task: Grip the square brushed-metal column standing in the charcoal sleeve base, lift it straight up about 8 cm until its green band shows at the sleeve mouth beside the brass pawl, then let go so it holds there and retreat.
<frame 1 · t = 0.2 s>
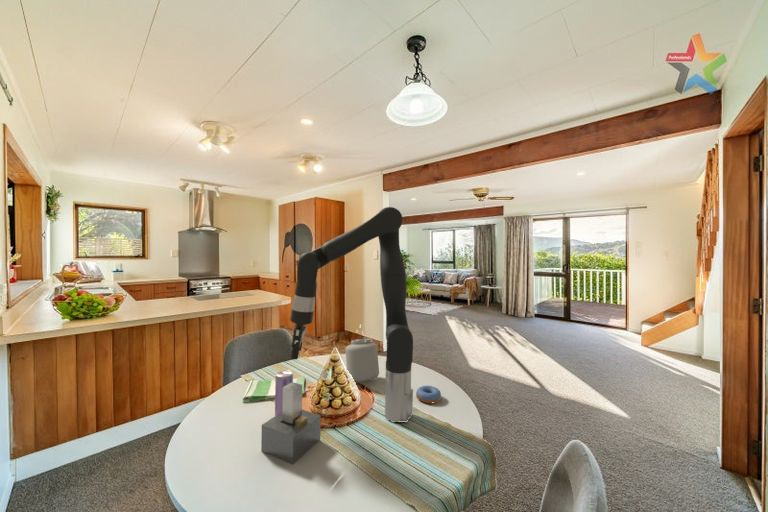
hand: (296, 354, 103), 23 cm above the table, tool pointing down, fingers open, 8 cm apart
beverage can: (283, 415, 106), on the table
jar: (361, 379, 138), on the table
doughnut: (428, 399, 120), on the table
dish towel: (276, 391, 125), on the table
sleeve base: (291, 446, 89), on the table
column: (292, 415, 89), point 9 cm above the table, slide at 0.0 cm
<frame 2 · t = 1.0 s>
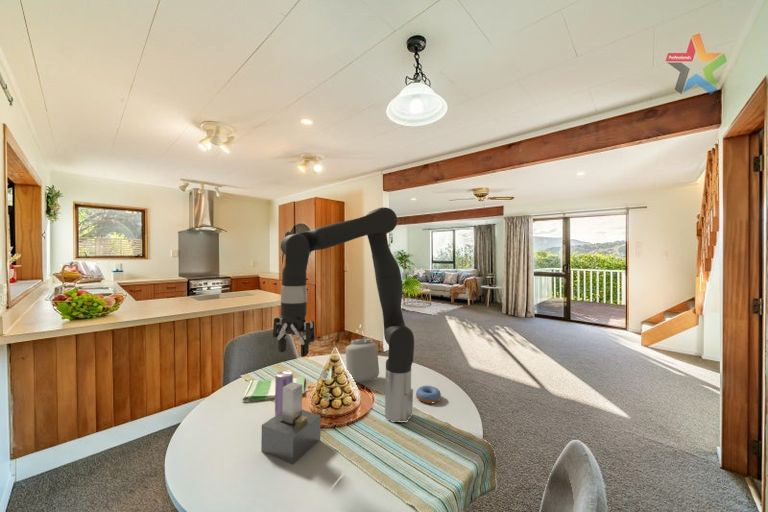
hand: (293, 353, 89), 28 cm above the table, tool pointing down, fingers open, 8 cm apart
nothing on the table moved.
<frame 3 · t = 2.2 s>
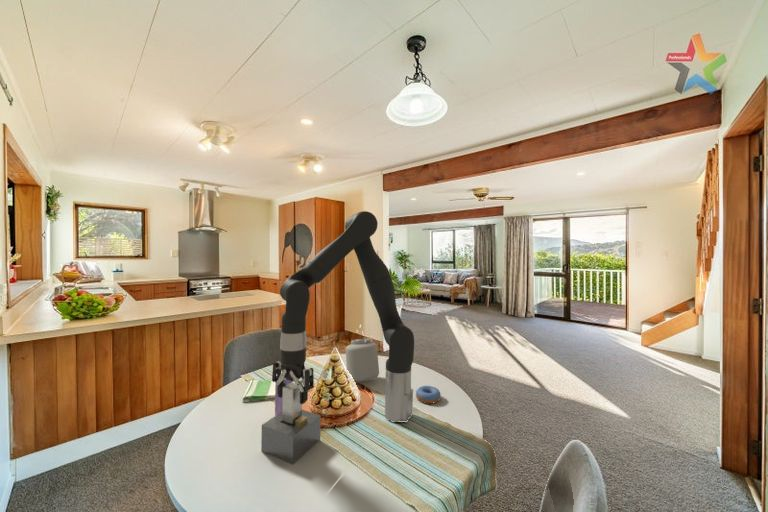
hand: (292, 399, 89), 14 cm above the table, tool pointing down, fingers open, 8 cm apart
nothing on the table moved.
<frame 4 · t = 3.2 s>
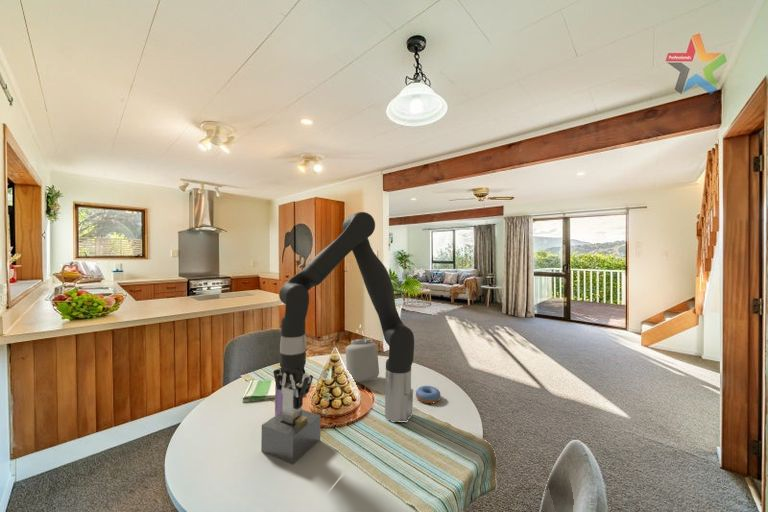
hand: (292, 405, 89), 12 cm above the table, tool pointing down, fingers closed on column, 4 cm apart
column: (292, 415, 89), point 9 cm above the table, slide at 0.0 cm, touching gripper
everything else where it was.
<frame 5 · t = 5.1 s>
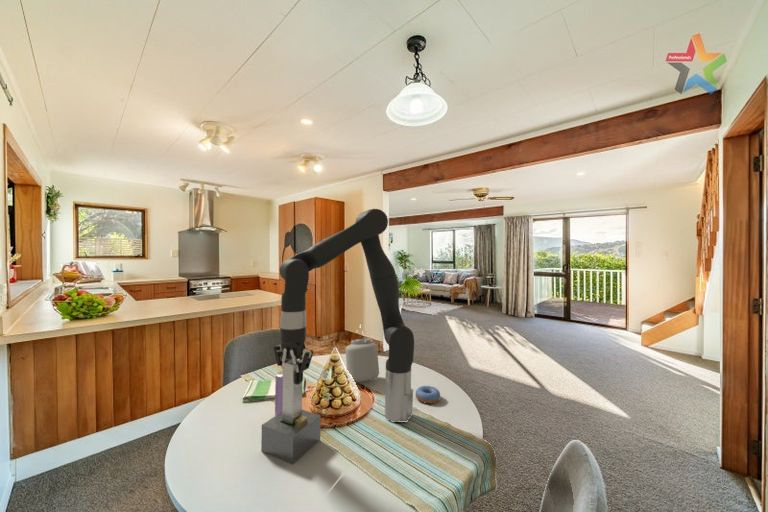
hand: (292, 381, 89), 20 cm above the table, tool pointing down, fingers closed on column, 4 cm apart
column: (292, 391, 89), point 17 cm above the table, slide at 7.3 cm, touching gripper
everything else where it was.
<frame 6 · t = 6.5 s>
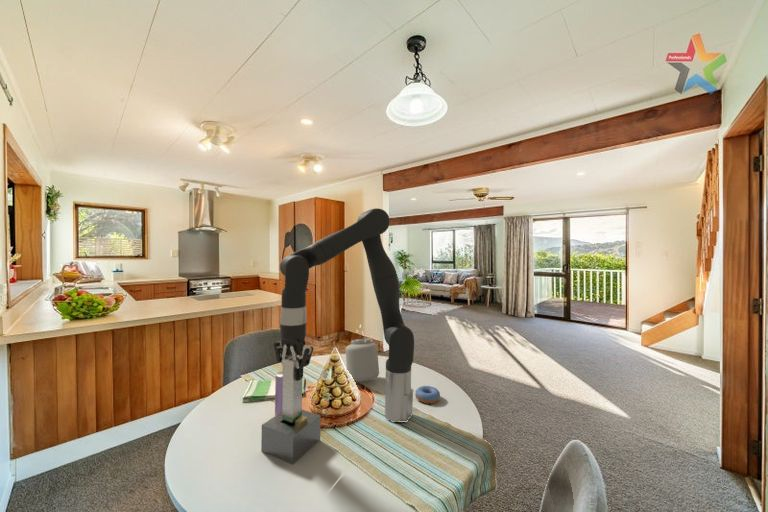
hand: (292, 377, 89), 21 cm above the table, tool pointing down, fingers open, 4 cm apart
column: (292, 387, 89), point 18 cm above the table, slide at 8.4 cm
everything else where it was.
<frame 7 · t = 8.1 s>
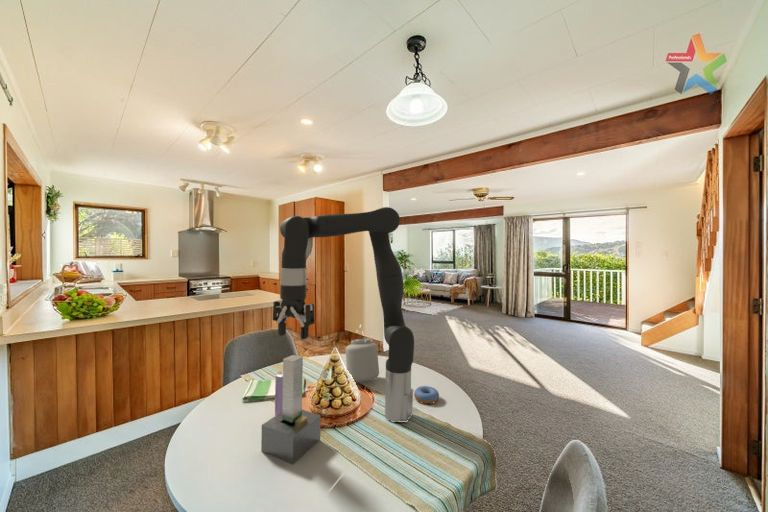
hand: (292, 337, 89), 33 cm above the table, tool pointing down, fingers open, 8 cm apart
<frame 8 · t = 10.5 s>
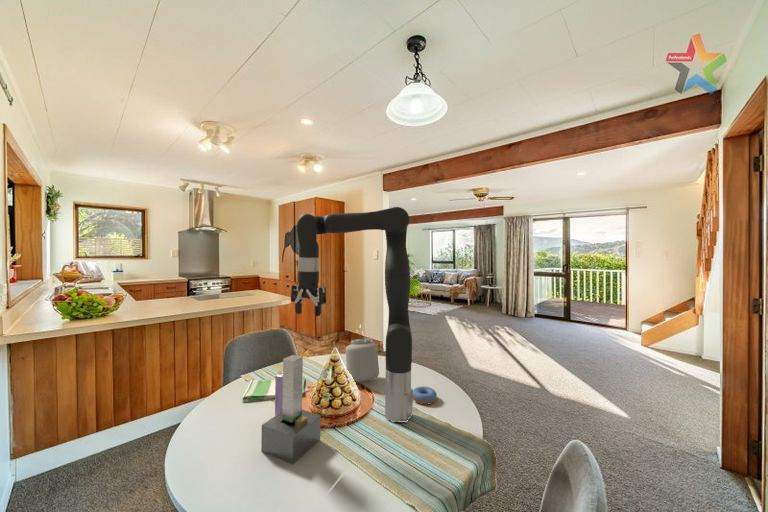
hand: (307, 314, 106), 36 cm above the table, tool pointing down, fingers open, 8 cm apart
doughnut: (424, 400, 119), on the table
everything else where it was.
at the end: column slide at 8.4 cm; the gripper is holding nothing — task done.
